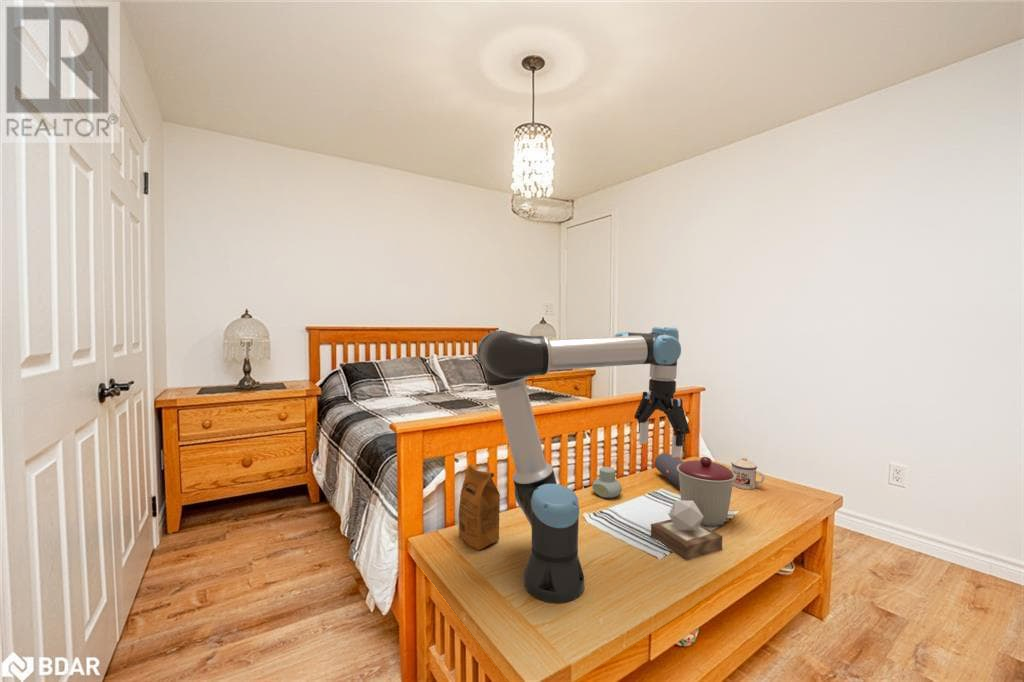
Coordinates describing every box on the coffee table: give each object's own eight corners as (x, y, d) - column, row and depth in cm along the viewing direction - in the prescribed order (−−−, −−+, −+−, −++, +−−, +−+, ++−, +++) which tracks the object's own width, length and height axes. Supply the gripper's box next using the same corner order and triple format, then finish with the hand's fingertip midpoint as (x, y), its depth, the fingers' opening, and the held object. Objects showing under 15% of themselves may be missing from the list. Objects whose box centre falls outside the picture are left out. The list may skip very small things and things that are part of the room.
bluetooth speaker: (652, 475, 184) (653, 452, 183) (672, 473, 186) (673, 451, 185) (683, 496, 162) (684, 470, 161) (705, 495, 163) (706, 469, 163)
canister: (732, 513, 148) (735, 453, 147) (735, 537, 132) (738, 470, 131) (677, 503, 156) (678, 446, 155) (673, 524, 139) (675, 461, 138)
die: (697, 542, 122) (712, 510, 124) (668, 523, 124) (684, 492, 126) (687, 538, 130) (701, 508, 132) (660, 520, 132) (675, 491, 134)
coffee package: (480, 526, 137) (480, 458, 136) (503, 542, 127) (504, 470, 126) (453, 536, 131) (453, 465, 130) (476, 553, 121) (476, 477, 120)
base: (686, 560, 119) (687, 545, 119) (650, 536, 131) (651, 523, 131) (721, 549, 125) (722, 535, 124) (684, 527, 137) (684, 514, 137)
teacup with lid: (727, 485, 173) (728, 457, 172) (735, 479, 179) (736, 452, 179) (760, 494, 164) (761, 464, 164) (767, 488, 171) (768, 459, 170)
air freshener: (588, 493, 164) (589, 467, 163) (601, 487, 169) (601, 463, 169) (612, 502, 156) (613, 475, 155) (625, 496, 161) (626, 470, 161)
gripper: (706, 385, 117) (701, 461, 118) (643, 373, 140) (640, 437, 141) (685, 385, 114) (681, 464, 115) (625, 373, 137) (621, 439, 138)
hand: (658, 449), depth 128 cm, fingers open, 13 cm apart
